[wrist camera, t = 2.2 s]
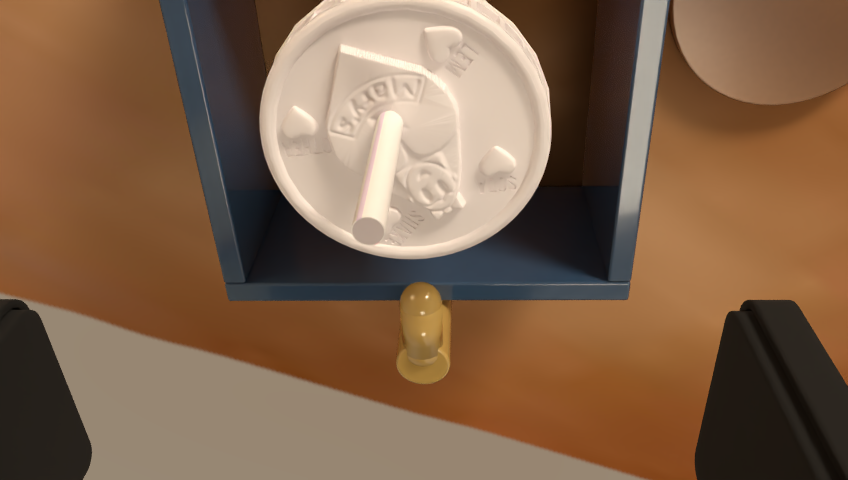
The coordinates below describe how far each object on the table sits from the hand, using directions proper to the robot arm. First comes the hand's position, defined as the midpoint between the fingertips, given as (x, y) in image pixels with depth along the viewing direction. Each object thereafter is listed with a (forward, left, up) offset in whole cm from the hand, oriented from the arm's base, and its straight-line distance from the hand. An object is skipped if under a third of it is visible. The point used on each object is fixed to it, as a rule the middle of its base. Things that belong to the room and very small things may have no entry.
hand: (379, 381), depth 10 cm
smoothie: (0, 0, -17) cm, 17 cm away
